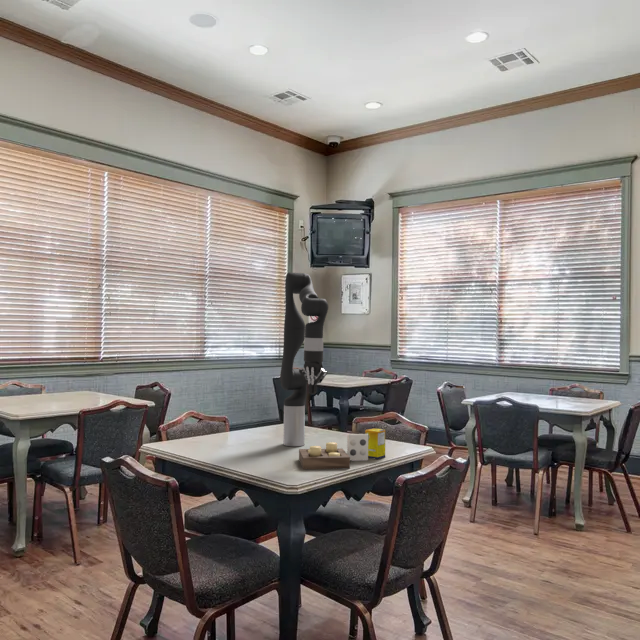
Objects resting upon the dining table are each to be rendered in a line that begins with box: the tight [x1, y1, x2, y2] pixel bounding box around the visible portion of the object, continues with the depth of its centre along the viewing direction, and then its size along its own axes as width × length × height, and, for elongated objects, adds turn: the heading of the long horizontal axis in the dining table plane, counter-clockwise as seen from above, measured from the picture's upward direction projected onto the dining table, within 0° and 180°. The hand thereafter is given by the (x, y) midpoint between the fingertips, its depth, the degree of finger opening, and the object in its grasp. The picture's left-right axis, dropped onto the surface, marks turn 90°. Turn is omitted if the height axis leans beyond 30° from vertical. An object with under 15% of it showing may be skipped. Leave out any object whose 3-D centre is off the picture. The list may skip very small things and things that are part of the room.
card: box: [346, 433, 369, 461], centre depth 234 cm, size 1×8×10 cm, turn 97°
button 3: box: [325, 441, 338, 453], centre depth 230 cm, size 4×4×3 cm
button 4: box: [329, 452, 340, 456], centre depth 223 cm, size 4×4×3 cm
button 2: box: [309, 445, 322, 457], centre depth 223 cm, size 4×4×3 cm
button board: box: [298, 448, 351, 470], centre depth 226 cm, size 17×17×4 cm
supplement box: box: [364, 427, 386, 460], centre depth 240 cm, size 6×6×11 cm
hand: (312, 394), depth 235 cm, fingers closed
